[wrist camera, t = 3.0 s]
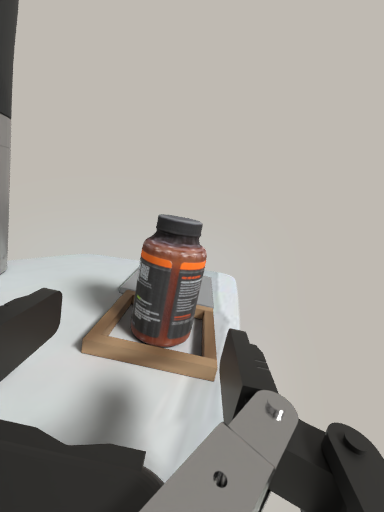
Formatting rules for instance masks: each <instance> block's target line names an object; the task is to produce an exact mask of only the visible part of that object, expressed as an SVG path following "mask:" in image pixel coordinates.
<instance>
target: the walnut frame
mask: <svg viewBox="0 0 384 512" xmlns="http://www.w3.org/2000/svg"><path fill="white" fill-rule="evenodd" d="M134 298H135V291H131V290H126V291H125V292H124V294H123V295H122V296H121V297H120V298H119V299H118V300H117V301H116V302H115V304H114V305H113V306H112V307H111V308H110V309H109V310H108V311H107V313H106V314H105V315H104V316H103V317H102V318H101V319H100V320H99V321H98V323H97V324H96V325H95V326H94V327H93V328H92V329H91V330H90V332H89V333H88V334H87V335H86V336H85V337H84V338H83V342H82V351H81V353H86V354H90V355H95V356H100V357H104V358H109V359H113V360H118V361H122V362H127V363H132V364H136V365H141V366H145V367H150V368H155V369H159V370H164V371H168V372H173V373H177V374H182V375H187V376H191V377H196V378H200V379H205V380H210V381H214V379H215V375H216V372H217V357H216V344H215V330H214V317H213V308H210V307H205V306H200V305H196V310H195V315H194V318H198V319H202V356H197V355H192V354H188V353H183V352H179V351H174V350H169V349H165V348H160V347H156V346H151V345H147V344H142V343H137V342H133V341H128V340H124V339H119V338H114V337H110V336H108V335H109V334H110V332H111V331H112V330H113V328H114V327H115V326H116V324H117V323H118V321H119V320H120V319H121V317H122V316H123V315H124V313H125V312H126V310H127V309H128V308H129V306H130V305H131V304H134Z"/></svg>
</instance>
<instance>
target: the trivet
mask: <svg viewBox="0 0 384 512" xmlns="http://www.w3.org/2000/svg"><path fill="white" fill-rule="evenodd" d="M138 272H139V269H138V270H137V271H135V272H134V273H133V274H132V275H131V276H130V277H129V278H128V279H127V280H126V281H125V282H124V283H123V284H122V285H121V286H120V290H119V293H123V294H124V292H125V291H126V290H131V291H136V285H137V279H138ZM197 305H200V306H205V307H210V308H214V305H213V293H212V281H211V277H207V276H203V277H202V282H201V287H200V291H199V296H198V301H197Z"/></svg>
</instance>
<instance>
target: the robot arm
mask: <svg viewBox="0 0 384 512" xmlns="http://www.w3.org/2000/svg"><path fill="white" fill-rule="evenodd" d="M18 1H19V0H0V274H1V273H3V272H4V271H5V270H6V269H7V251H8V222H9V187H10V186H9V185H10V151H11V150H10V147H11V144H10V143H11V120H10V119H11V105H12V77H13V59H14V45H15V34H16V25H17V15H18ZM61 306H62V293H61V292H60V291H57V290H52V289H47V288H42V289H40V290H38V291H36V292H34V293H32V294H30V295H28V296H24V297H20V298H16V299H14V300H12V301H10V302H8V303H6V304H4V306H3V305H2V306H0V381H2V380H3V379H4V378H5V377H6V376H7V375H8V374H10V373H11V372H12V371H13V370H14V369H15V368H16V367H18V366H19V365H20V364H21V363H22V362H23V361H24V360H26V359H27V358H28V357H29V356H30V355H31V354H33V353H34V352H35V351H36V350H37V349H38V348H39V347H41V346H42V345H43V344H44V343H45V342H46V341H47V340H49V339H50V338H51V337H52V336H53V335H54V334H55V333H56V331H57V329H58V327H59V324H60V318H61ZM219 371H220V383H221V395H222V406H223V418H224V422H221V423H220V424H219V425H218V426H217V427H216V428H215V429H214V430H213V431H212V432H211V433H210V434H209V436H208V437H207V438H206V439H205V440H204V441H203V442H202V443H201V444H200V445H199V447H198V448H197V449H196V450H195V451H194V452H193V453H192V454H191V455H190V456H189V457H188V459H187V460H186V461H185V462H184V463H183V464H182V465H181V466H180V467H179V468H178V470H177V471H176V472H175V473H174V474H173V475H172V476H171V477H170V478H169V479H168V480H167V482H166V483H164V482H163V481H162V480H161V479H160V478H159V477H158V476H157V475H156V474H154V473H153V472H152V471H151V470H149V469H147V468H146V467H144V466H143V464H144V459H145V454H146V451H141V450H136V449H132V448H127V447H123V446H118V445H114V444H93V445H73V446H71V445H65V444H63V443H62V442H60V441H58V440H57V439H55V438H53V437H51V436H50V435H48V434H46V433H45V432H43V431H41V430H40V429H38V428H36V427H32V426H27V425H23V424H18V423H14V422H9V421H5V420H0V512H262V511H263V509H264V506H265V504H266V502H267V500H268V498H269V496H270V493H271V491H272V492H274V493H275V494H277V495H279V496H280V497H282V498H284V499H285V500H287V501H289V502H290V503H292V504H294V505H295V506H297V507H299V508H300V510H301V512H384V459H383V457H382V456H381V454H380V453H379V451H378V450H377V449H376V447H375V446H374V445H373V444H372V443H371V442H370V441H369V440H368V439H367V438H366V437H365V436H364V435H362V434H361V433H360V432H358V431H357V430H355V429H353V428H351V427H350V426H347V425H345V424H342V423H332V424H330V425H329V426H328V428H327V430H326V432H324V431H322V430H319V429H317V428H315V427H313V426H311V425H309V424H307V423H305V422H303V421H301V420H300V419H298V414H297V412H296V410H295V408H294V407H293V406H292V404H291V403H290V402H289V401H288V400H287V399H285V398H284V397H283V396H281V395H280V394H279V393H278V391H277V388H276V386H275V383H274V380H273V378H272V375H271V373H270V371H269V368H268V365H267V363H266V360H265V357H264V355H263V353H262V352H261V350H259V348H257V346H256V345H253V344H250V343H249V340H248V337H247V334H246V332H244V331H240V330H235V329H229V331H228V333H227V337H226V341H225V345H224V348H223V352H222V356H221V360H220V369H219Z"/></svg>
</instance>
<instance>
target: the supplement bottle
mask: <svg viewBox="0 0 384 512" xmlns="http://www.w3.org/2000/svg"><path fill="white" fill-rule="evenodd" d="M156 228H157V231H156V233H155V234H154V235H152V236H151V237H149V238H147V239H146V240H145V242H144V244H143V247H142V253H141V258H140V265H139V272H138V279H137V285H136V291H135V298H134V305H133V312H132V317H131V330H132V332H133V334H134V335H135V336H136V337H137V338H138V339H140V340H141V341H143V342H145V343H148V344H150V345H154V346H160V347H170V346H175V345H178V344H181V343H183V342H184V341H185V340H187V338H188V337H189V335H190V331H191V328H192V324H193V319H194V315H195V310H196V305H197V301H198V296H199V291H200V287H201V282H202V277H203V273H204V268H205V263H206V257H207V256H206V250H205V249H204V248H203V247H202V246H201V245H200V244H199V237H200V236H201V230H202V223H201V222H200V221H196V220H193V219H189V218H183V217H178V216H172V215H162V214H161V215H159V216H158V222H157V226H156Z"/></svg>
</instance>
